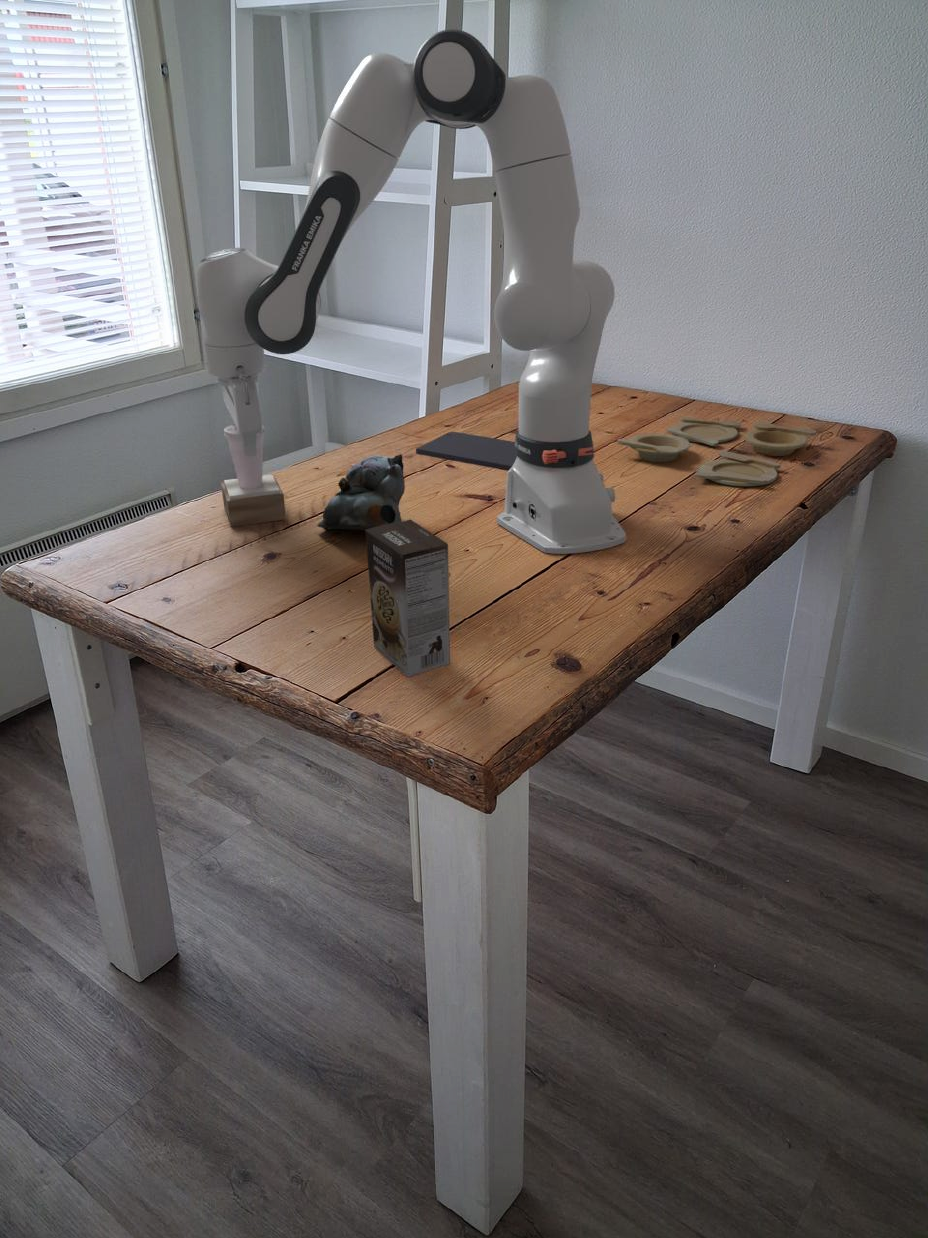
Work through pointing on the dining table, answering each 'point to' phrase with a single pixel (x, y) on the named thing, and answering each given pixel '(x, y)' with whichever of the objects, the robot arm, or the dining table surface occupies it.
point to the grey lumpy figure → (367, 495)
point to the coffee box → (409, 596)
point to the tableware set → (724, 470)
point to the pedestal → (253, 502)
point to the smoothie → (246, 458)
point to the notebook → (471, 450)
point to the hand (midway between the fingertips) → (246, 446)
